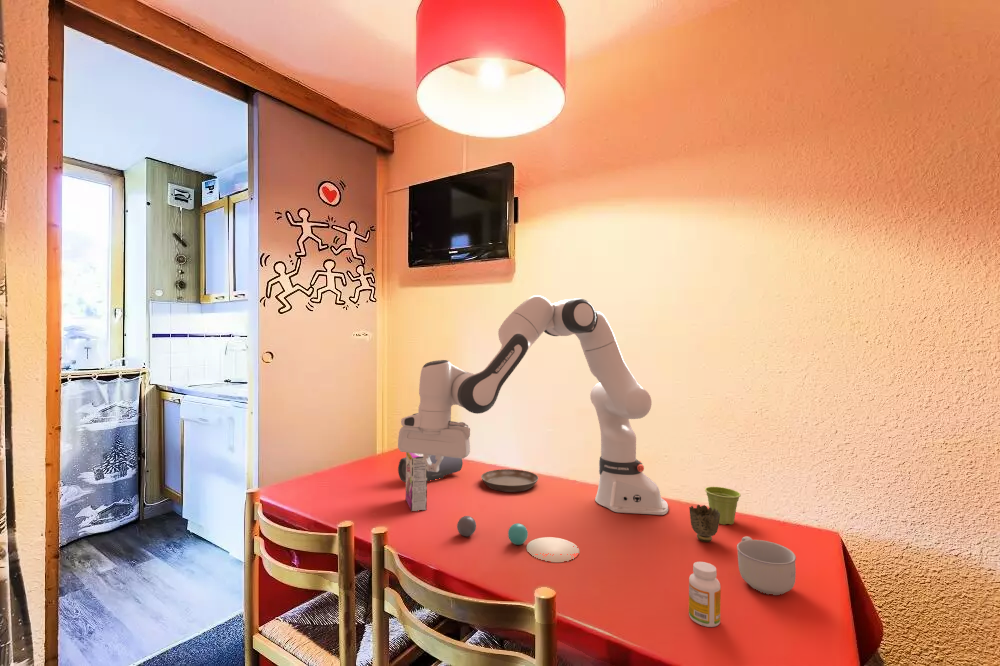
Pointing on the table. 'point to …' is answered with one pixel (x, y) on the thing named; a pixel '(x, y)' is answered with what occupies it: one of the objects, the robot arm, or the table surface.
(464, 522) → the gray ball
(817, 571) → the table surface
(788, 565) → the teacup
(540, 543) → the cream mark
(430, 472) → the bluetooth speaker
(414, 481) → the candy bar box
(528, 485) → the plant saucer
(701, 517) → the cup
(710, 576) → the supplement bottle
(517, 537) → the teal ball
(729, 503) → the plant pot
